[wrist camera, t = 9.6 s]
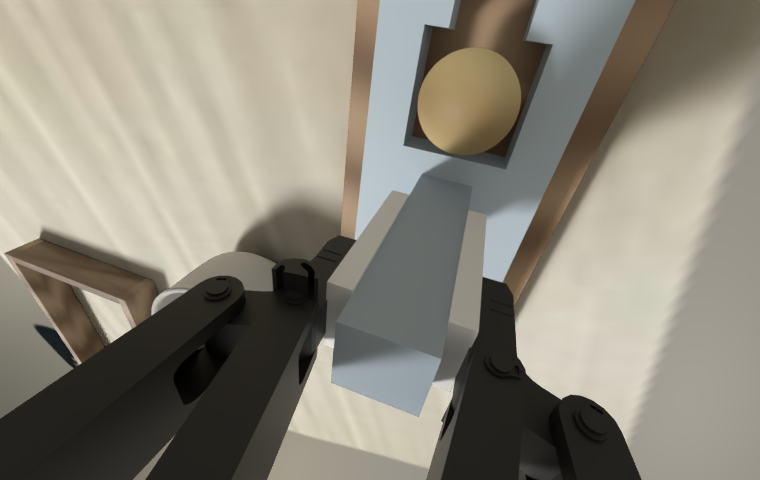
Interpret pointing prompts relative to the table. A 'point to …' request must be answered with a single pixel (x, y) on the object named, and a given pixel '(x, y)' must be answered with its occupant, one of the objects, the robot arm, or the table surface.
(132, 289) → the open brown wooden frame
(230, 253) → the teacup
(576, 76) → the blue post stand
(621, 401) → the table surface
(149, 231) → the table surface
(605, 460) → the robot arm
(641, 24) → the boss board
